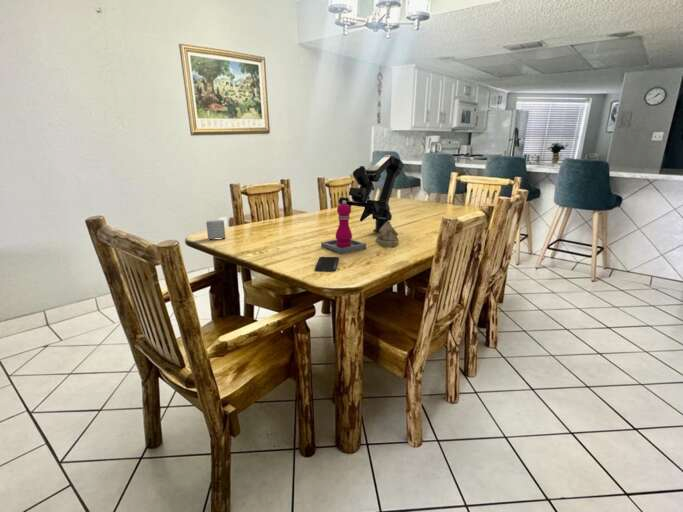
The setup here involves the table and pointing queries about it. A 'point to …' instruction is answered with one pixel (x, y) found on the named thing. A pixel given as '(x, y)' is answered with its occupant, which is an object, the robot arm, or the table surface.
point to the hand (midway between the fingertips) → (351, 219)
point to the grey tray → (333, 247)
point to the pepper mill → (343, 226)
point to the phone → (327, 264)
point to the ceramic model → (387, 235)
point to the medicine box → (215, 229)
